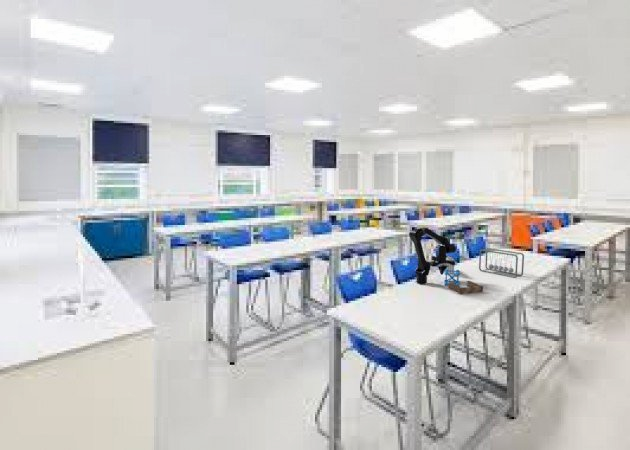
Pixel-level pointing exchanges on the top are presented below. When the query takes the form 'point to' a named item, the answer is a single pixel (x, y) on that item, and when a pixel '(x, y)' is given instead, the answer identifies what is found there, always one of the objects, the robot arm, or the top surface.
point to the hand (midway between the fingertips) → (441, 274)
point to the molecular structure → (452, 277)
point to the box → (466, 288)
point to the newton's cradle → (501, 261)
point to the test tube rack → (450, 266)
